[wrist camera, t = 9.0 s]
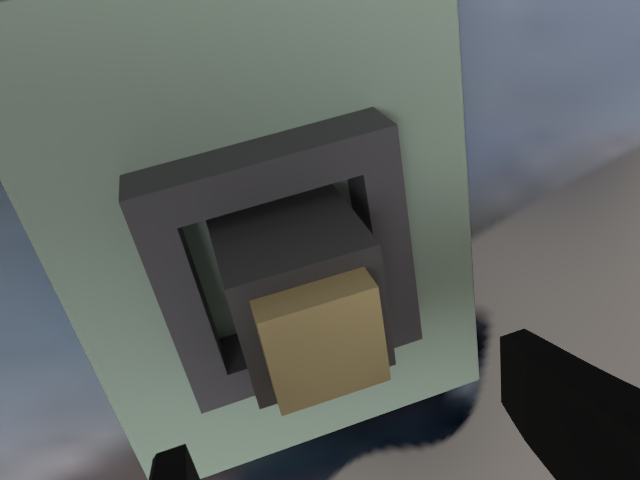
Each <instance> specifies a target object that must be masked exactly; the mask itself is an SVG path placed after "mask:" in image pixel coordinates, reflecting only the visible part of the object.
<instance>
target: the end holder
mask: <svg viewBox="0 0 640 480" xmlns="http://www.w3.org/2000/svg"><path fill="white" fill-rule="evenodd" d="M0 181H1V183H2V185H3V187H4V189H5V191H6V193H7V195H8V197H9V199H10V201H11V203H12V205H13V207H14V209H15V211H16V213H17V215H18V217H19V219H20V222H21V224H22V226H23V228H24V230H25V232H26V234H27V236H28V238H29V240H30V242H31V244H32V246H33V248H34V250H35V252H36V254H37V256H38V258H39V260H40V262H41V264H42V266H43V268H44V270H45V272H46V274H47V276H48V278H49V280H50V282H51V284H52V286H53V288H54V290H55V292H56V294H57V296H58V298H59V300H60V302H61V304H62V307H63V309H64V311H65V313H66V315H67V317H68V319H69V321H70V323H71V325H72V327H73V329H74V331H75V333H76V335H77V337H78V339H79V341H80V343H81V345H82V347H83V349H84V351H85V353H86V355H87V357H88V359H89V361H90V363H91V365H92V367H93V369H94V371H95V373H96V375H97V377H98V379H99V381H100V383H101V385H102V387H103V389H104V391H105V394H106V396H107V398H108V400H109V402H110V404H111V406H112V408H113V410H114V412H115V414H116V416H117V418H118V420H119V422H120V424H121V426H122V428H123V430H124V432H125V434H126V436H127V438H128V440H129V442H130V444H131V446H132V448H133V450H134V452H135V454H136V456H137V458H138V460H139V462H140V464H141V466H142V468H143V470H144V472H145V474H146V476H147V479H148V480H149V476H150V471H151V465H152V460H153V458H154V456H155V455H156V453H159V452H162V451H165V450H168V449H171V448H174V447H177V446H180V445H183V444H186V446H187V448H188V451H189V453H190V456H191V458H192V460H193V463H194V465H195V468H196V470H197V473H198V475H199V478H200V479H201V478H204V477H207V476H210V475H213V474H215V473H218V472H221V471H224V470H227V469H230V468H232V467H235V466H238V465H241V464H244V463H246V462H249V461H252V460H255V459H258V458H260V457H263V456H266V455H269V454H272V453H274V452H277V451H280V450H283V449H286V448H288V447H291V446H294V445H297V444H300V443H302V442H305V441H308V440H311V439H314V438H317V437H319V436H322V435H325V434H328V433H331V432H333V431H336V430H339V429H342V428H345V427H347V426H350V425H353V424H356V423H359V422H361V421H364V420H367V419H370V418H373V417H375V416H378V415H381V414H384V413H387V412H390V411H392V410H395V409H398V408H401V407H404V406H406V405H409V404H412V403H415V402H418V401H420V400H423V399H426V398H429V397H432V396H434V395H437V394H440V393H443V392H446V391H448V390H451V389H454V388H457V387H460V386H462V385H465V384H468V383H471V382H474V381H477V380H479V368H478V350H477V333H476V316H475V299H474V282H473V264H472V247H471V230H470V212H469V195H468V178H467V161H466V143H465V126H464V109H463V92H462V74H461V57H460V40H459V23H458V6H457V0H0ZM329 184H333V185H334V186H335V188H336V189H337V190H338V192H339V193H340V194H341V195H342V197H343V198H344V199H345V200H346V202H347V203H348V204H349V205H350V207H351V208H352V209H353V210H354V212H355V213H356V214H357V215H358V217H359V218H360V219H361V220H362V222H363V223H364V224H365V225H366V227H367V228H368V229H369V230H370V232H371V233H372V234H373V235H374V237H375V238H376V239H377V240H378V242H379V243H380V244H381V252H382V259H383V267H384V275H385V282H386V290H387V298H388V306H389V313H390V321H391V329H392V336H393V344H394V352H395V359H396V365H393V366H390V375H391V380H389V381H386V382H383V383H380V384H377V385H374V386H371V387H368V388H365V389H362V390H359V391H356V392H353V393H350V394H347V395H344V396H341V397H338V398H335V399H332V400H329V401H326V402H323V403H320V404H317V405H314V406H311V407H308V408H305V409H302V410H299V411H296V412H293V413H290V414H287V415H284V416H281V412H280V409H279V406H278V404H275V405H272V406H269V407H266V408H263V409H259V406H258V402H257V399H256V396H255V392H254V389H253V386H252V382H251V379H250V376H249V372H248V369H247V365H246V362H245V359H244V355H243V352H242V349H241V345H240V342H239V338H238V335H237V332H236V328H235V325H234V322H233V318H232V315H231V312H230V308H229V305H228V301H227V298H226V295H225V291H224V288H223V284H222V280H221V276H220V272H219V269H218V265H217V261H216V257H215V253H214V250H213V246H212V242H211V238H210V234H209V231H208V227H207V223H206V220H208V219H212V218H215V217H219V216H222V215H225V214H229V213H232V212H236V211H239V210H243V209H246V208H250V207H253V206H257V205H260V204H264V203H267V202H271V201H274V200H277V199H281V198H284V197H288V196H291V195H295V194H298V193H302V192H305V191H309V190H312V189H316V188H319V187H323V186H326V185H329Z"/></svg>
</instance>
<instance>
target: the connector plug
mask: <svg viewBox="0 0 640 480" xmlns="http://www.w3.org/2000/svg"><path fill="white" fill-rule="evenodd" d="M206 223H207V227H208V231H209V234H210V238H211V242H212V246H213V250H214V253H215V257H216V261H217V265H218V269H219V272H220V276H221V280H222V284H223V288H224V291H225V295H226V298H227V301H228V305H229V308H230V312H231V315H232V318H233V322H234V325H235V328H236V332H237V335H238V338H239V342H240V345H241V349H242V352H243V355H244V359H245V362H246V365H247V369H248V372H249V376H250V379H251V382H252V386H253V389H254V392H255V396H256V399H257V402H258V406H259V409H263V408H266V407H269V406H272V405H275V404H278V406H279V409H280V412H281V416H284V415H287V414H290V413H293V412H296V411H299V410H302V409H305V408H308V407H311V406H314V405H317V404H320V403H323V402H326V401H329V400H332V399H335V398H338V397H341V396H344V395H347V394H350V393H353V392H356V391H359V390H362V389H365V388H368V387H371V386H374V385H377V384H380V383H383V382H386V381H389V380H391V375H390V366H393V365H396V359H395V352H394V344H393V336H392V329H391V321H390V313H389V306H388V298H387V290H386V282H385V275H384V267H383V259H382V252H381V244H380V243H379V242H378V240H377V239H376V238H375V237H374V235H373V234H372V233H371V232H370V230H369V229H368V228H367V227H366V225H365V224H364V223H363V222H362V220H361V219H360V218H359V217H358V215H357V214H356V213H355V212H354V210H353V209H352V208H351V207H350V205H349V204H348V203H347V202H346V200H345V199H344V198H343V197H342V195H341V194H340V193H339V192H338V190H337V189H336V188H335V186H334V185H333V184H329V185H326V186H323V187H319V188H316V189H312V190H309V191H305V192H302V193H298V194H295V195H291V196H288V197H284V198H281V199H277V200H274V201H271V202H267V203H264V204H260V205H257V206H253V207H250V208H246V209H243V210H239V211H236V212H232V213H229V214H225V215H222V216H219V217H215V218H212V219H208V220H206Z"/></svg>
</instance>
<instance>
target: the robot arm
mask: <svg viewBox="0 0 640 480" xmlns="http://www.w3.org/2000/svg"><path fill="white" fill-rule="evenodd" d="M500 357H501V358H500V359H501V402H502V404H503V406H504V407H505V409H506V411H507V412H508V414H509V416H510V417H511V419H512V421H513V422H514V424H515V426H516V427H517V429H518V430H519V432H520V433H521V435H522V437H523V438H524V440H525V441H526V443H527V444H528V445H529V446H530V448H531V449H532V450H533V452H534V453H535V454H536V455H537V457H538V458H539V459H540V460H541V462H542V463H543V464H544V465H545V467H546V468H547V469H548V470H549V472H550V473H551V474H552V475H553V477H554V478H555V479H556V480H640V389H639V388H637V387H635V386H633V385H631V384H629V383H627V382H625V381H623V380H621V379H619V378H617V377H615V376H612V375H611V374H609V373H607V372H605V371H603V370H601V369H599V368H597V367H595V366H593V365H591V364H589V363H587V362H585V361H584V360H582V359H579V358H578V357H576V356H574V355H572V354H570V353H569V352H567V351H565V350H563V349H561V348H559V347H558V346H556V345H554V344H552V343H550V342H548V341H546V340H545V339H543V338H541V337H539V336H537V335H535V334H533V333H532V332H530V331H528V330H526V329H522V330H519V331H516V332H513V333H510V334H507V335H504V336H501V337H500ZM149 480H200V478H199V475H198V473H197V470H196V468H195V465H194V463H193V460H192V458H191V456H190V453H189V451H188V448H187V446H186V444H183V445H180V446H177V447H174V448H171V449H168V450H165V451H162V452H159V453H156V455H155V456H154V458H153V460H152V465H151V471H150V476H149Z"/></svg>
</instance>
